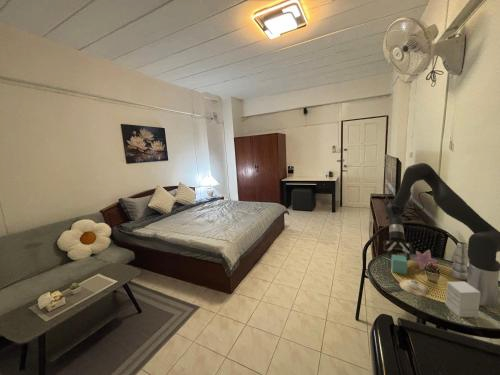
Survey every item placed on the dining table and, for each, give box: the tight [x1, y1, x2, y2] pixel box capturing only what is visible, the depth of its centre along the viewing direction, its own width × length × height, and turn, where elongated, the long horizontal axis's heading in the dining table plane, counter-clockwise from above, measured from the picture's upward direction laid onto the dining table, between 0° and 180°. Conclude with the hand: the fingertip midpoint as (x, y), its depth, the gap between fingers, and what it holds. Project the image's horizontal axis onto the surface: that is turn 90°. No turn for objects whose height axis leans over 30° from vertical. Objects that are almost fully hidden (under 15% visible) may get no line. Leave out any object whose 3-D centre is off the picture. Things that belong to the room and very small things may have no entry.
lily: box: [410, 249, 438, 271], centre depth 124 cm, size 12×12×10 cm
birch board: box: [399, 279, 430, 296], centre depth 107 cm, size 12×12×1 cm
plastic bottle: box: [450, 241, 469, 281], centre depth 110 cm, size 6×7×20 cm
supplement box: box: [445, 280, 481, 320], centre depth 90 cm, size 7×7×13 cm
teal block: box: [390, 254, 408, 275], centre depth 120 cm, size 7×7×8 cm
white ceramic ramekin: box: [409, 279, 420, 290], centre depth 106 cm, size 4×4×3 cm
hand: (398, 259), depth 122 cm, fingers open, 8 cm apart
